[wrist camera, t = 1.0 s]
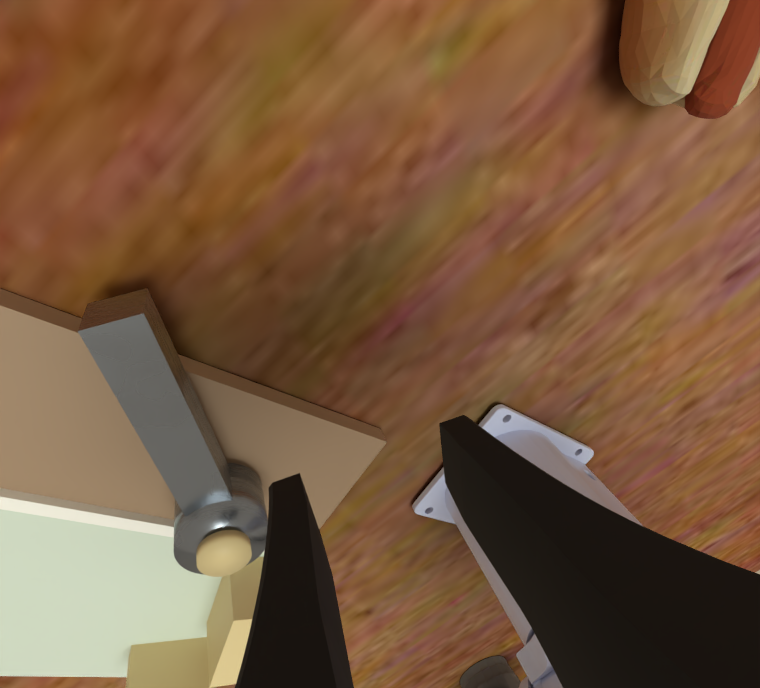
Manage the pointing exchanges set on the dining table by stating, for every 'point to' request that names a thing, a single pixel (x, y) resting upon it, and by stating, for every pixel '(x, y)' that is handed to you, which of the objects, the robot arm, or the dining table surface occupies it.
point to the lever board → (135, 513)
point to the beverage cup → (490, 674)
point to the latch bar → (172, 425)
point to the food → (691, 53)
